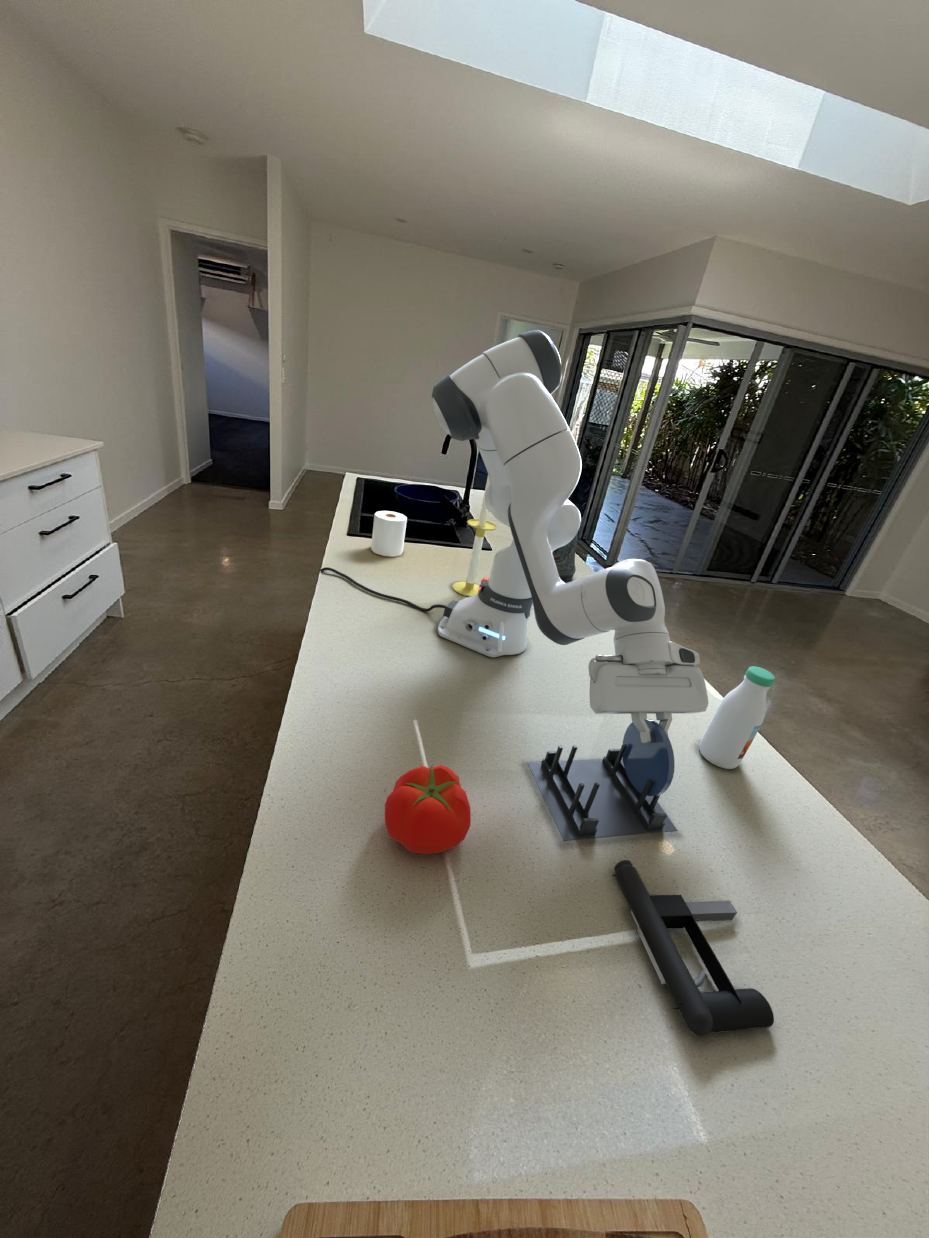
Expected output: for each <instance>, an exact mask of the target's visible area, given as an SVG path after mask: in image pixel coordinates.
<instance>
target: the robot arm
mask: <svg viewBox="0 0 929 1238" xmlns="http://www.w3.org/2000/svg"><path fill="white" fill-rule="evenodd" d="M562 379H563V367H562V361H561V356H560V354H559V350H558V349H557V347H556V345H555V344H554V342H553V340H552V339H551V337H550V336H549V335H548V334H546V333H545V332H543V331H541V330H540V329H533V330H529V331H525V332H522V333H519V334H518V335H517V337H515V338H513V339H509V340H507V341H504V342H502V343H500V344H497V345H495V346H493V347H491V348H488V349H487V350H485V351H483V352H482V353H481V354H480V355H478V356H476V357H475V358H473V359H471V360H469V361H468V362H467V363H465V364H464V365H462V366H461V367H459V368H458V369H456V370H455V371H454V372H453V373H451V374H450V375H449V374H446V375H445V376H443V377H442V378H441V379H440V380H439V381H437V383H436V384H435V385H434V386H433V387H432V392H431V399H432V410H433V414H434V417H435V419H436V422H437V423H438V424H439V426H440V428H441V429H442V430H443V431H444V432H445V433H446V434H447V435H449V436H450V438H451V439H453V440H455V441H456V440H457V441H460V442H463V441H469V440H474V441H475V444H476V446H477V449H478V451H479V454H480V456H481V459H482V462H483V464H484V466H485V469H486V472H487V476H488V475H489V480H490V485H489V486H488V488H487V490H486V493H485V492H484V493H485V505H486V507H487V509H488V511H489V512H488V513H490V514H491V515H492V516H493V518H494V519H496V520H497V521H498V522H500V523H501V524H503V525H505V526H507V527H509V528H510V532H511V535H512V541H511V544H510V545H509V546H505V547H502V548H500V549H498V550H497V552H496V553H495V555H494V556H493V563H492V565H491V570H490V575H489V577H488V576H484V577H483V578H482V579H481V581H480V584H479V589H478V594H476V595H474V596H471V597H468V596H467V597H466V598H463V599H460V600H459V601H457V600H455V599H453V600H452V601H450V602H448V603H447V604H439V603H438V604H433V605H431V606H430V607H428V608H425V607H421V606H419V605H417V604H415V603H413V602H411V601H409V600H407V599H404V598H400V597H397V596H393V595H388V594H385V593H382V592H378V591H376V590H374V589H371V588H369V587H367V586H365V585H363V584H361V583H359V582H357V581H356V580H354V579H353V578H351V577H350V576H349V575H347V574H346V573H345V574H344V573H342V572H340V571H339V570H337V569H335V568H331V567H327V566H326V567H325V566H324V567H322V568H321V569H319V572H324V571H328V572H329V571H330V572H332V573H335V574H336V575H338V576H340V577H343V578H345V579H346V580H348V581H349V582H351V583H352V584H354V585H355V586H357V587H358V588H360V589H362V590H364V591H366V592H369V593H370V594H373V595H375V596H378V597H381V598H384V599H388V600H394V601H397V602H400V603H404V604H407V605H409V606H410V607H412V608H414V609H416V610H418V611H422V612H427V613H429V612H431V611H432V610H434V609H436V608H437V609H444V610H443V615H442V616H443V617H442V619H441V620H440V622H439V623H438V626H437V634H438V636H439V637H441V638H444V639H446V640H449V641H451V642H453V643H456V644H458V645H461V646H463V647H465V648H467V649H470V650H472V651H474V652H477V653H479V654H482V655H484V656H486V657H489V658H497V657H502V656H512V655H513V656H515V655H519V654H521V653H523V652H525V651H526V649H527V647H528V641H527V640H528V638H527V637H528V636H527V635H528V623H529V618H530V616H531V615H532V611H533V612H534V618H535V622H536V625H537V627H538V629H539V631H540V632H541V633H542V634H543V636H545V637H546V638H547V639H548V640H550V641H551V642H553V643H555V644H557V645H560V646H568V645H570V644H573V643H576V642H579V641H581V640H583V639H585V638H589V637H594V636H597V635H600V634H605V633H609V632H610V631H614V635H613V646H614V647H613V648H614V654H613V655H604V654H596V655H595V657H593V658H591V659H590V661H588V665H587V666H588V676H589V707H590V708H591V711H592V712H593V714H597V715H621V714H622V715H623V714H624V715H626V714H627V715H629V714H630V716H631V723H632V722H633V723H634V725H635V726H636V728H637V729H638V731H639V732H640V737H641V742H642V743H653V742H655V741H656V739H655V737H654V736H655V731H650V729H649V727H648V726H647V724H646V722H645V720H646V719H648V715H649V714H652V715H653V714H655V720H656V721H659V722H658V724H659V725H660V726H661V727H662V728H663V729H664V731H665V732H666V734H667V736H668V737H669V729H670V726H671V724H672V721H673V715H672V714H699V713H703V712H706V711H707V708H708V706H709V696H708V691H707V690H708V689H707V685H706V681H705V678H704V674H703V672H702V671H701V669H700V668H699V667H698V666H697V665H700V662H701V660H700V655H699V653H698V652H697V651H695V650H692V649H690V648H687V647H685V646H682V645H681V644H678V643H677V642H674V641H671V637H670V633H669V631H668V628H667V626H666V622H665V616H666V605H665V601H664V600H665V599H664V594H663V590H662V586H661V583H660V579H659V576H658V574H657V571H656V569H655V566H654V565H653V564H652V563H651V562H648V560H647V561H646V560H644V559H638V558H628V559H622V560H620V561H617V562H616V563H614V564H613V565H612V566H611V567H606V568H604V569H601V570H598V571H595V572H593V573H589V574H588V575H585V576H582V577H580V578H577V579H575V580H571V581H570V582H566V583H564V582H563V581H562V580H561V579H560V577H559V574H558V571H557V568H556V564H555V561H554V558H553V555H552V552H553V551H554V550H556V549H557V548H560V547H563V546H565V545H566V544H568V543H569V542H570V541H571V540H572V539H573V538H574V537H575V536H576V534H577V532H578V531H579V530H580V526H581V525H580V521H581V518H582V516H581V512H580V510H579V508H578V507H577V506H576V505H575V504H574V503H573V502H572V501H571V500H569V498H570V497H571V495H572V493H573V492H574V491H575V489H576V487H577V485H578V483H579V480H580V477H581V473H582V466H583V463H582V457H581V453H580V450H579V447H578V445H577V442H576V439H575V437H574V435H573V433H572V431H571V430H570V427H569V425H568V423H567V421H566V419H565V417H564V415H563V413H562V411H561V410H560V408H559V406H558V404H557V403H556V401H555V399H554V398H553V396H552V395H553V394H554V393H555V392H556V391H557V390H558V389H559V387H560V385H561V382H562ZM580 516H581V517H580ZM578 533H579V532H578ZM577 535H578V534H577Z"/></svg>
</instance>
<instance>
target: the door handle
mask: <svg viewBox="0 0 929 1238" xmlns="http://www.w3.org/2000/svg"><path fill="white" fill-rule="evenodd" d="M614 871H615V874H612V875H611V876H612V877H616V880H617V882H618V885H619V886H620V888H621V891H622V892H623V895H624V897H625V899H626V901H627V903H628V905H629V908H630V913H631V916H632V918H633V920H634V922H635V924H636V926H637V928H636V932H637V934H638V935H639V938H640V941H641V942H642V944H643V947H644V948H645V950H646V953H647V955H648V957H649V959H650V962H651V965H652V966H653V968H654V970H655V972H656V974H657V976H658V977H657V978H658V979H659V981H660V984H661V985H666V986H667V988H668V990H669V992H670V995H671V997H672V999H673V1001H674V1005H676V1007H673V1008H672V1010H678V1012H679V1014H680V1016H681V1019H682V1020H683V1022H684V1024H685V1026H686V1028H687V1029H688V1030H689V1031H690V1032H691V1034H693V1035H695V1036H697V1037H706V1036H708V1035H710V1034H717V1033H726V1032H734V1031H745V1030H755V1029H763V1028H770V1027H772V1026H773V1025H774V1021H775V1015H774V1011H773V1009H772V1007H771V1005H770V1003H769V1001H768V999H767V998H766V997H765V996H764V995H763V994H762V993H761V992H760V991H759V990H757V989H756V988H752V987H748V988H735V986H734V985H733V984H732V981H731V980H730V978H729V976H728V974H727V973H726V971H725V969H724V968H723V965H722V964H721V962H720V960H719V959H718V956H716V953H715V952H714V950H713V948H712V947H711V945H710V943H709V941H708V940H707V938H706V936H705V934H704V933H703V931H702V928H701V927H700V926H699V923H698V922H714V921H715V922H717V921H718V922H719V921H732V920H733V919H734V918H735V916H737V914H738V911H737V910H736V907H735V906H734V905H733V903H732V902H731V900H706V901H685V899H684V897H683V896H682V894H650V892H649V891H648V889H647V887H646V886H645V883H644V882H643V880H642V877H641V876H640V873H639V872H638V869H637V868H636V867H635V866H634V865H633V862H632V861H631V860H628V859H624V860H620V861H619V862H617V863H616V864H615V865H614ZM674 929H675V930H677V929H684V930H685V932H686V934H687V936H688V937H689V940H690V941H691V943H692V945H693V947H694V948H695V950H696V952H697V954H698V956H699V957H700V959H701V961H702V964H703V965H704V967H705V969H706V970H707V973H708V975H709V976H710V978H711V980H712V981H713V983H714V985H715V987H716V989H717V990H711V991H700V990H699V987H700V986H701V985H703V983H704V981H705V980H706V977H707V973H706V972H705V971H704V970H700V971H699V975H698V977H697V978H695V980H694V978H693V977H692V975H691V973H690V971H689V969H688V966H687V964H686V962H685V961H684V959H683V957H682V955H681V953H680V951H679V949H678V947H677V944H675V941H674V939H673V938H672V936H671V934H670V932H669V930H674Z"/></svg>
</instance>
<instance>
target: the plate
mask: <svg viewBox="0 0 929 1238" xmlns="http://www.w3.org/2000/svg"><path fill="white" fill-rule="evenodd" d="M645 722H646V724H647V726H648V727H649V729H650V731H655V736H654V737H655V739H656V741H655V742H653V743H642V742H641V737H640V732H639V731H638V729H637V728H636V726H635V725H634V723H633V722H632V721H631V722H630V724H629V725H628V726H627V728H626V730H625V732H624V734H623V739H622V744H626V745H627V748H626V750H625V753H624V755H623V757H622V759H623V763H624V768H625V771H626V774H627V776H628V778H629V780H630V782H631V783H632V785H633V786H634V787H635V789H636V790H637V791H639V792H640V793H641V794H642V792H643V789H644V787H645V785H646V783H647V781H648V779H651V780H652V781H653V783H652V786H651V788H650V790H649V792H648V794H647V796H658V795H660V796H662V795H663V794H665V792H667V791H668V790H669V788H670V787H671V784H672V782H673V778H674V774H675V754H674V753H675V752H674V750H673V749H674V748H673V746H672V742H671V740H670V738H669V735H668V736H667V734H666V732H665V731H664V729H663V728H662V727H661V726H660V725H659V722H657V721H655V720H653V719H650V718H647V719H646V720H645Z"/></svg>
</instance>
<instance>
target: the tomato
mask: <svg viewBox="0 0 929 1238" xmlns="http://www.w3.org/2000/svg"><path fill="white" fill-rule="evenodd" d="M469 801H470V800H469V798H468V795H467V792H466V791H465V789H463V788H462V785H461V782H460V777H459V776H458V775H457V773H455V771H454V770H453V769H451V768H450V767H448V766H445V765H443V764H438V765H436V766H431V767H427V766H426V765H421V766H418V767H415V768H412V769H409V770H408V771H406V772H405V773H403V774H402V775H401V776H400V777H399V778H398V779H397V780H396V781H395V783H394V787H393V789H392V791H391V793H390V794H389V795H387V797H386V800H385V803H384V825H385V827H386V830H387V834H388V837H389V838H390V839H391V840H394V841H395V842H397V843H399V844H400V845H402V846H403V847H404V849H406V850H408V851H409V852H410V853H415V854H423V855H429V854H438V853H439V854H440V853H442V852H445V851H447V850H450V849H453V848H455V847H457V846H459V844H460V843H462V842H463V841H464V840H465V838H466V836H467V834H468V831H469V830H470V827H471V824H472V823H471V821H472V820H471V819H472V815H471V805H470V802H469Z"/></svg>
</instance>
